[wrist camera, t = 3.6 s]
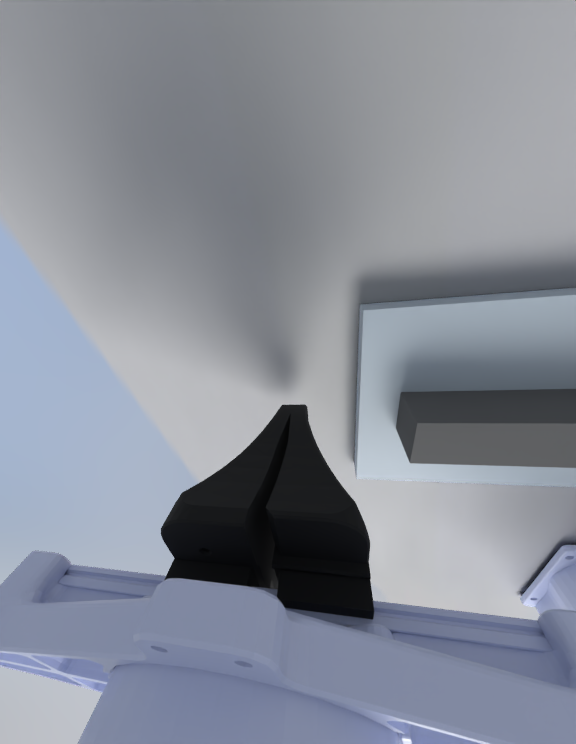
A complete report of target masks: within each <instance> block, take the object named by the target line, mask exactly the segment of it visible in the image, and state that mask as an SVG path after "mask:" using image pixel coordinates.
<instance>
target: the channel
mask: <svg viewBox="0 0 576 744" xmlns="http://www.w3.org/2000/svg"><path fill="white" fill-rule="evenodd" d="M537 389H576V288H564V289H551V290H538V291H525V292H512V293H499V294H487V295H474V296H461V297H448V298H435V299H422V300H410V301H397V302H384V303H371V304H360V312H359V341H358V370H357V399H356V428H355V457H354V465H355V472H356V479H375V480H400V481H426V482H451V483H477V484H502V485H528V486H553V487H576V468H558V467H522V466H487V465H451V464H415V463H410V462H409V460H408V457H407V455H406V453H405V450H404V448H403V445H402V443H401V440H400V438H399V435H398V433H397V430H396V423H397V416H398V409H399V401H400V394H401V392H430V391H483V390H537Z"/></svg>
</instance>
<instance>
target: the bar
mask: <svg viewBox="0 0 576 744" xmlns="http://www.w3.org/2000/svg"><path fill="white" fill-rule="evenodd" d="M396 430H397V433H398V435H399V438H400V440H401V443H402V445H403V448H404V450H405V453H406V455H407V457H408V460H409V462H410V463H415V464H451V465H487V466H522V467H558V468H576V389H537V390H483V391H430V392H401V394H400V401H399V409H398V416H397V423H396Z"/></svg>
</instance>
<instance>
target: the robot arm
mask: <svg viewBox="0 0 576 744" xmlns="http://www.w3.org/2000/svg"><path fill="white" fill-rule="evenodd" d="M161 536H162V538H163V540H164V542H165V544H166V545H167V547H168V548H169V550H170V552H171V553H172V555H173V556H174V558H175V559H174V561H173V563H172V565H171V567H170V569H169V571H168V574H167V576H161V575H154V574H146V573H138V572H129V571H121V570H113V569H112V570H111V569H104V568H96V567H88V566H79V565H71V562H70V561H69V560H68V559H67V558H66V557H65V556H63V555H61V554H59V553H54V552H45V551H32V552H31V553H30V555H28V557H26V559H25V560H24V561H23V562H22V563H21V564H20V565H19V566H18V567H17V568H16V569H15V570H14V571H13V572H12V573H11V574H10V575H9V576H8V578H7V579H6V580H5V581H4V582H3V583H2V584H1V585H0V666H1V667H5V668H10V669H14V670H18V671H22V672H26V673H31V674H34V675H39V676H43V677H47V678H50V679H54V680H58V681H62V682H66V683H69V684H73V685H76V686H80V687H84V688H87V689H91V690H95V691H98V692H102V695H101V697H100V699H99V701H98V703H97V705H96V707H95V709H94V711H93V713H92V715H91V717H90V719H89V721H88V723H87V725H86V728H85V729H84V731H83V734H82V736H81V738H80V740H79V742H78V744H576V545H564V546H562V547H561V548H560V549H559V550H558V551H557V553H556V554H555V555H554V556H553V558H552V559H551V560H550V561H549V563H548V564H547V565H546V566H545V568H544V569H543V570H542V571H541V573H540V574H539V575H538V576H537V578H536V579H535V580H534V581H533V583H532V584H531V585H530V586H529V588H528V589H527V590H526V591H525V593H524V594H523V595H522V596H521V598H520V600H521V602H522V603H523V605H525V606H532V607H536V609H537V611H538V612H539V614H540V616H539V618H538V621H536V620H528V619H520V618H511V617H503V616H495V615H487V614H478V613H470V612H462V611H453V610H445V609H437V608H428V607H420V606H412V605H403V604H395V603H387V602H378V601H373V598H372V591H371V583H370V569H369V562H368V561H369V551H370V540H369V536H368V532H367V529H366V526H365V524H364V521H363V519H362V516H361V514H360V512H359V510H358V507H357V505H356V503H355V501H354V500H353V499H352V498H351V497H350V495H349V494H348V493H347V492H346V491H345V489H344V488H343V487H342V485H341V484H340V483H339V481H338V480H337V479H336V477H335V476H334V474H333V472H332V471H331V469H330V468H329V466H328V465H327V463H326V461H325V460H324V458H323V456H322V454H321V452H320V450H319V448H318V446H317V444H316V441H315V439H314V437H313V434H312V431H311V428H310V425H309V421H308V411H307V406H306V405H282V406H281V407H280V409H279V410H278V411H277V413H276V414H275V416H274V417H273V418H272V420H271V421H270V422H269V424H268V425H267V426H266V427H265V429H264V430H263V431H262V432H261V433H260V434H259V436H258V437H257V438H256V439H255V440H254V441H253V442H252V443H251V444H250V445H249V446H248V447H247V448H246V449H245V450H244V451H243V452H242V453H241V454H240V455H238V456H237V457H236V458H235V459H233V460H232V461H231V462H230V463H228V464H227V465H226V466H225V467H223V468H222V469H220V470H219V471H218V472H216V473H215V474H213V475H212V476H210V477H209V478H207V479H205V480H204V481H202V482H200V483H199V484H197V485H195V486H193V487H192V488H190V489H188V490H186V491H184V492H183V493H182V494H181V495H180V497H179V499H178V500H177V501H176V503H175V505H174V507H173V508H172V510H171V512H170V514H169V515H168V517H167V519H166V521H165V522H164V524H163V526H162V528H161Z"/></svg>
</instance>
